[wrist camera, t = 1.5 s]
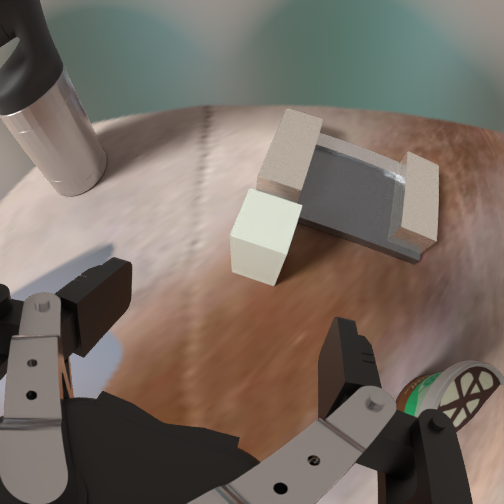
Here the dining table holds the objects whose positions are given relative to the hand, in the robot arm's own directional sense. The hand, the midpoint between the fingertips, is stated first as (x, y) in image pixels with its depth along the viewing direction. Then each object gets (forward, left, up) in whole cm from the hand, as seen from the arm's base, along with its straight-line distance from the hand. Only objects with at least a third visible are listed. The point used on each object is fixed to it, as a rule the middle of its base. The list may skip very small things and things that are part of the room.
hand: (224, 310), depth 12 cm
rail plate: (+7, +24, -23) cm, 34 cm away
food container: (+22, +1, -23) cm, 32 cm away
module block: (-1, +11, -23) cm, 25 cm away
